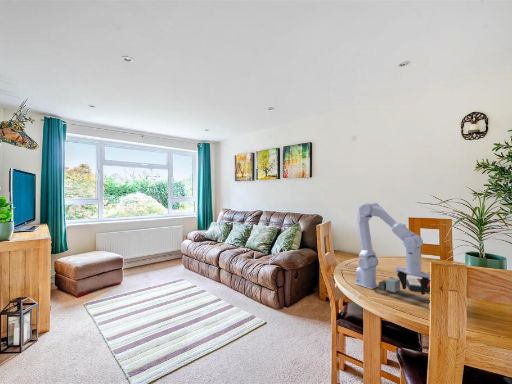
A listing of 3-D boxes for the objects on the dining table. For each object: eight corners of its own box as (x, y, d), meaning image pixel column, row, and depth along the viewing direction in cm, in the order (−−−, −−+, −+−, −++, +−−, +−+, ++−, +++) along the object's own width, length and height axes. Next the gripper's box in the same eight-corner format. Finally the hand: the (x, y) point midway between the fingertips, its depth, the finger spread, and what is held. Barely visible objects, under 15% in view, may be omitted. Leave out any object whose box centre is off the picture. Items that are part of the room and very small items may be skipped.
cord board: (374, 292, 121) (374, 283, 121) (384, 287, 127) (384, 278, 127) (434, 311, 101) (434, 300, 101) (442, 304, 107) (442, 294, 107)
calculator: (409, 284, 122) (403, 273, 136) (409, 292, 123) (403, 281, 136) (435, 287, 118) (426, 275, 132) (435, 295, 118) (426, 283, 132)
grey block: (386, 289, 118) (386, 279, 119) (391, 287, 122) (391, 277, 122) (394, 292, 115) (394, 282, 115) (400, 289, 119) (399, 279, 119)
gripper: (392, 259, 115) (392, 288, 115) (428, 267, 103) (428, 299, 103) (399, 257, 119) (399, 285, 119) (434, 264, 108) (434, 295, 107)
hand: (413, 291), depth 111 cm, fingers open, 7 cm apart
